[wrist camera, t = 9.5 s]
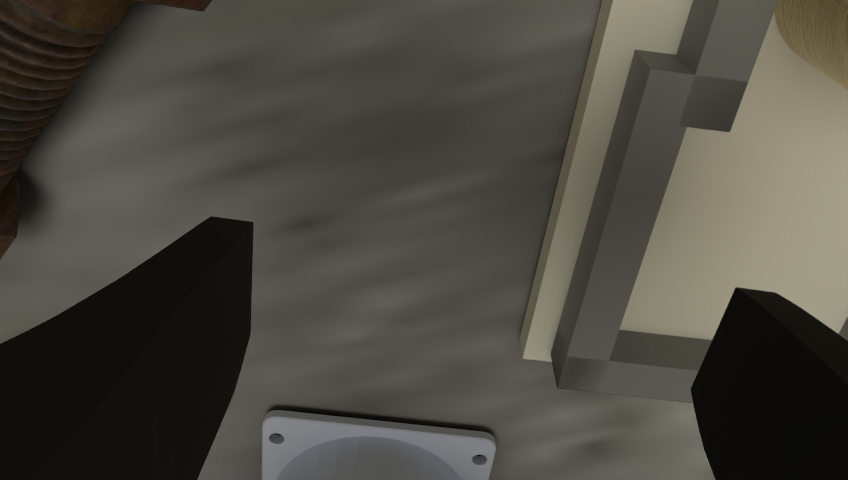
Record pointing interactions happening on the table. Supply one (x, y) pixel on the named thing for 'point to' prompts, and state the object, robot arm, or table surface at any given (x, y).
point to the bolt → (46, 75)
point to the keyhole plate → (687, 195)
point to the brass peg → (817, 34)
